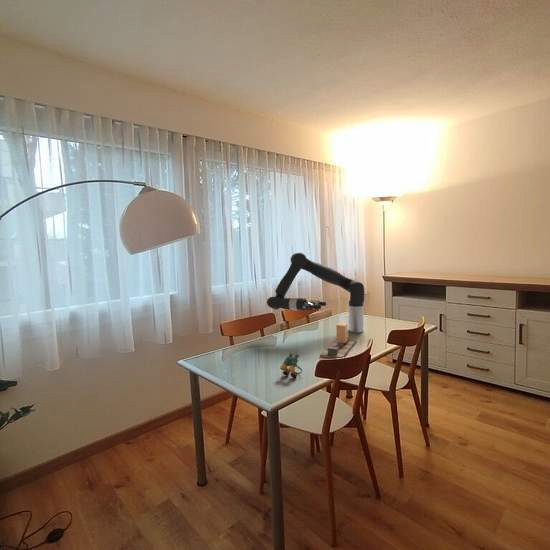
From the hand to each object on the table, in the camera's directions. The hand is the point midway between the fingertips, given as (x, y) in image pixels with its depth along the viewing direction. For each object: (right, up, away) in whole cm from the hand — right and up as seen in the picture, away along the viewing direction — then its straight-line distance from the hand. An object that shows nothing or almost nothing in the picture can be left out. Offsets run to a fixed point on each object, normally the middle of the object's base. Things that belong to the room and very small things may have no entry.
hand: (323, 305), depth 190 cm
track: (+8, -24, -8) cm, 26 cm away
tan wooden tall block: (+10, -20, -3) cm, 23 cm away
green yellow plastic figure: (-21, -29, -41) cm, 54 cm away
